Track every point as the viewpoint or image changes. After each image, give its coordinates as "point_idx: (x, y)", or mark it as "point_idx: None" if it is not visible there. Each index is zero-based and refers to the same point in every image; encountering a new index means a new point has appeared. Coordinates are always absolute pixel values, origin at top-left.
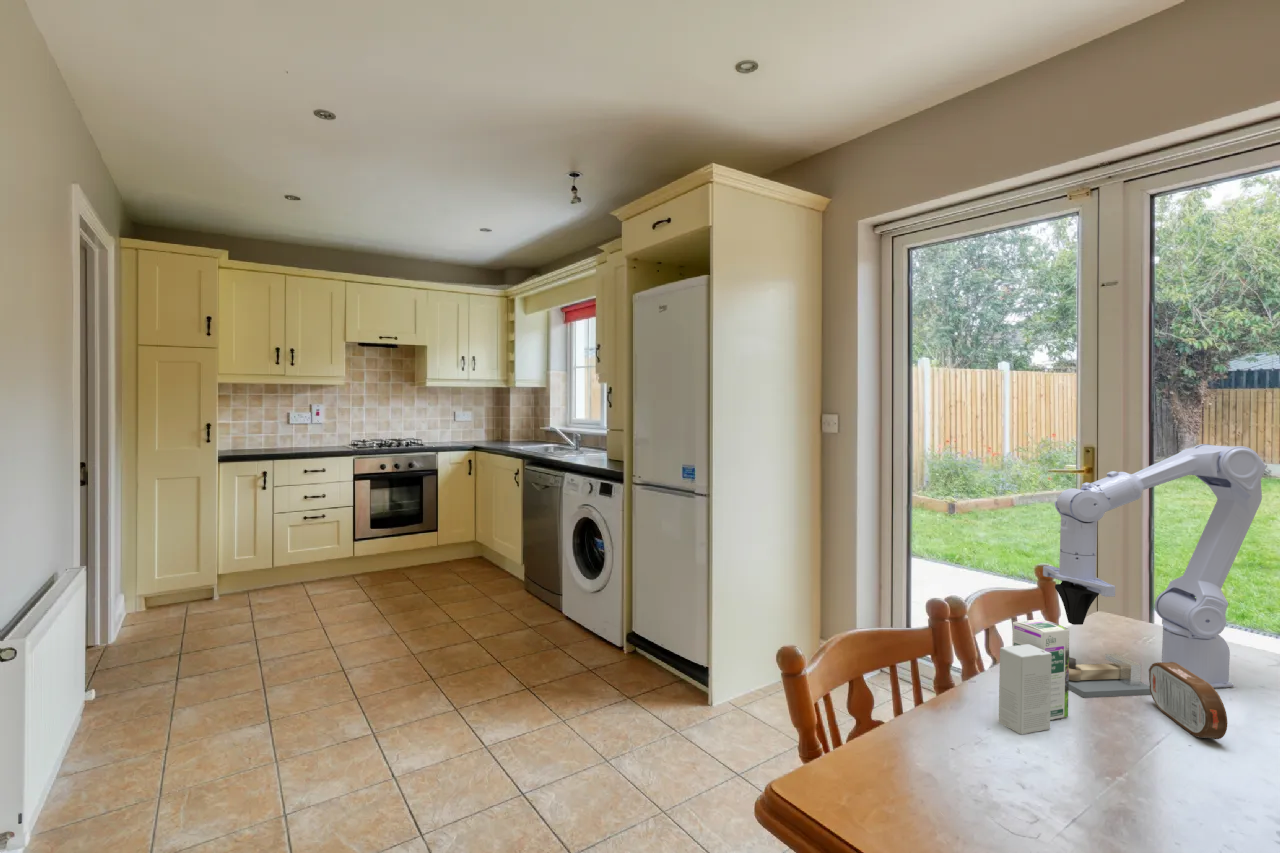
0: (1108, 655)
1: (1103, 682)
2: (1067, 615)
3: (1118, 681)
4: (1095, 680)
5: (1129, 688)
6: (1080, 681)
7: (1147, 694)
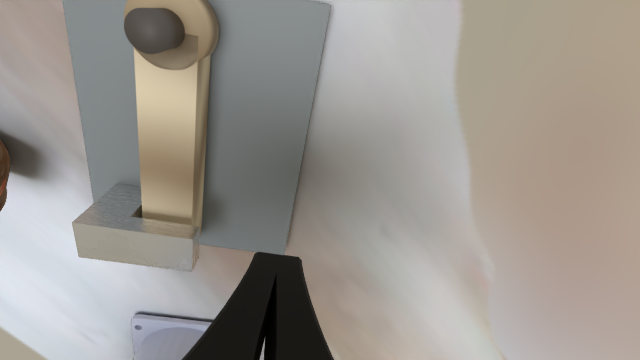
0: (179, 237)
1: None
2: (295, 284)
3: None
4: None
5: (97, 161)
6: None
7: None
